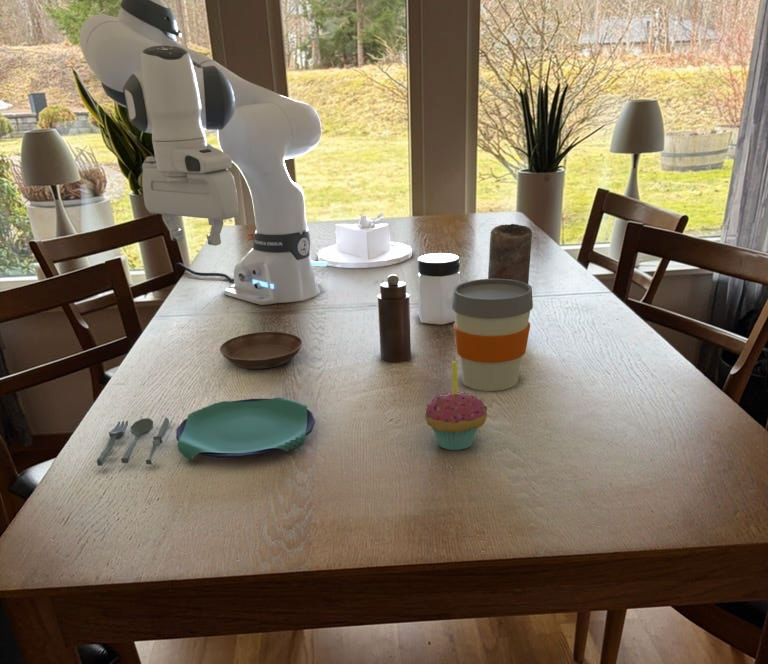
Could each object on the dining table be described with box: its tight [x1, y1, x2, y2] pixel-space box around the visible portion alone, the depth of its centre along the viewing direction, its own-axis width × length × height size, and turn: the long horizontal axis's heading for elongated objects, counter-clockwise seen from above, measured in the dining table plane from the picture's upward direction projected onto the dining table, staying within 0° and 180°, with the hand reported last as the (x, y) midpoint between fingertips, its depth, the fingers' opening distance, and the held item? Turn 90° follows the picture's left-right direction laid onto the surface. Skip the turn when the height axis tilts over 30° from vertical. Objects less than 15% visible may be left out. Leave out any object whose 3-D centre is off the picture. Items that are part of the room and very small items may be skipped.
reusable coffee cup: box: [452, 278, 534, 392], centre depth 125 cm, size 13×13×15 cm
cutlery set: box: [96, 396, 316, 467], centre depth 114 cm, size 20×30×2 cm, turn 94°
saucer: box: [219, 331, 303, 370], centre depth 142 cm, size 15×15×3 cm
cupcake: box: [424, 355, 488, 451], centre depth 106 cm, size 9×8×12 cm
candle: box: [487, 223, 533, 284], centre depth 141 cm, size 8×7×20 cm
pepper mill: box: [377, 273, 412, 364], centre depth 137 cm, size 5×5×15 cm
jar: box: [417, 252, 461, 326], centre depth 156 cm, size 9×8×12 cm
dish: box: [317, 212, 413, 269], centre depth 206 cm, size 25×25×11 cm
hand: (195, 242), depth 140 cm, fingers open, 8 cm apart
